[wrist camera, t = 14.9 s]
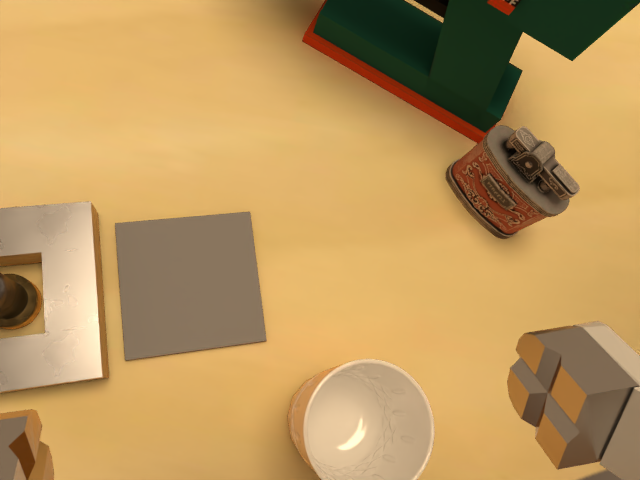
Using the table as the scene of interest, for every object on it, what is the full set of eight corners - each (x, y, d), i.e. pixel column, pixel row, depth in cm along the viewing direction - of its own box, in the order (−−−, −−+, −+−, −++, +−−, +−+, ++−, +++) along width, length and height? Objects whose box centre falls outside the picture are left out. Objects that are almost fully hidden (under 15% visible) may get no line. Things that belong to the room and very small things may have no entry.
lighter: (437, 176, 49) (494, 126, 40) (462, 154, 50) (524, 100, 41) (499, 247, 49) (573, 214, 39) (524, 223, 50) (601, 185, 40)
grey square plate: (249, 213, 45) (250, 211, 44) (265, 341, 43) (266, 340, 42) (116, 225, 42) (115, 223, 42) (126, 360, 40) (125, 360, 40)
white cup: (368, 487, 42) (419, 517, 32) (266, 459, 41) (286, 482, 31) (392, 380, 44) (446, 379, 34) (296, 351, 43) (324, 342, 34)
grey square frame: (97, 213, 42) (90, 201, 40) (109, 377, 40) (102, 377, 37) (-85, 228, 40) (-107, 216, 37) (-85, 405, 37) (-109, 407, 34)
